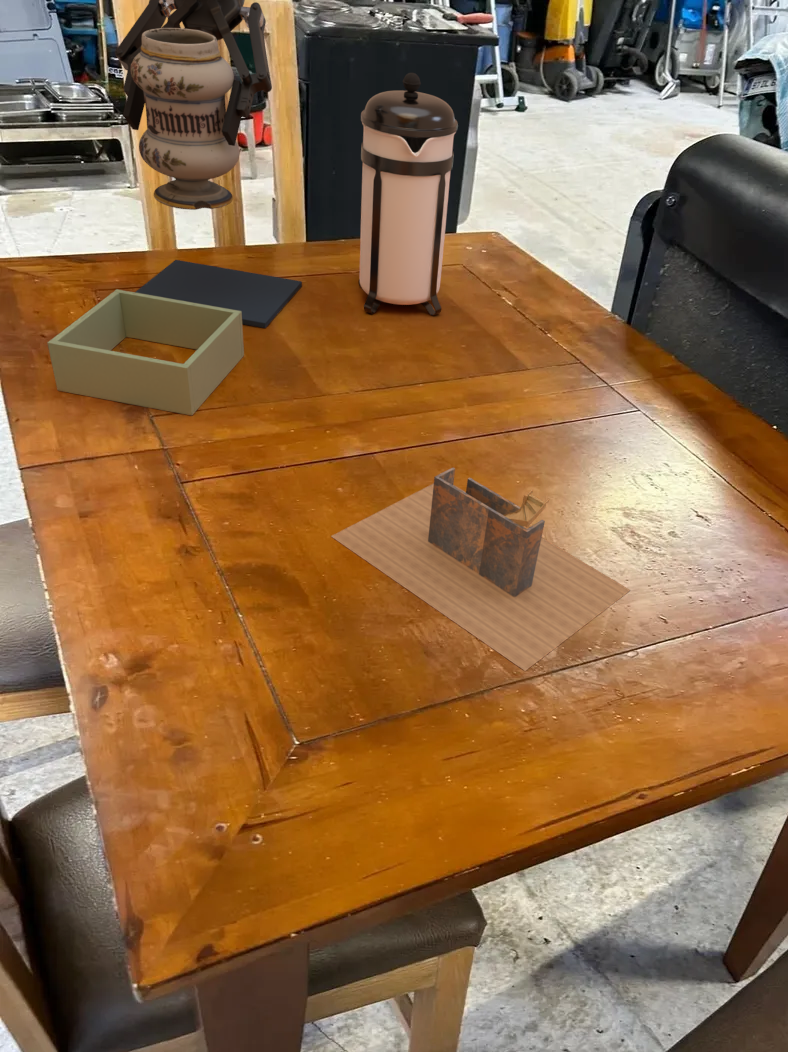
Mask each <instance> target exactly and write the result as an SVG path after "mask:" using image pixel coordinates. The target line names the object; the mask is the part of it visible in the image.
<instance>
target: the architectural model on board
mask: <svg viewBox="0 0 788 1052" xmlns="http://www.w3.org/2000/svg"><path fill="white" fill-rule="evenodd" d="M455 474H456V468H455V467H450V468H449V469H447V470H445V471H443V472H441V473H439V474H437V475H436V476H435V475H434V478H433V483H432V484H429V485H428V486H426V487H424V488H422V489H420V490H418V491H415V492H414V493H412V494H410V495H408V496H406V497H404V498H402V499H401V500H399V501H396V502H395V503H393V504H390V505H389V506H386V507H384V508H383V509H381V510H379V511H377V512H375V513H373V514H371V515H369V516H368V517H366V518H363V519H362V520H360V521H358V522H356V523H354V524H352V525H350V526H348V527H345V528H344V529H342V530H340V531H338V532H337V533H334V534H332V535H331V536H330V537H331V538H333V539H334V540H336V541H337V542H338V543H340V544H341V545H343V546H344V547H346V548H347V549H348V550H350V551H351V552H352V553H354V554H356V555H357V556H359V557H360V558H361V559H363V560H364V561H365V562H367V563H369V564H370V565H371V566H373V567H375V569H377V570H379V571H380V572H382V573H383V574H384V575H386V576H388V578H390V579H392V580H393V581H394V582H396V583H397V584H398V585H400V586H402V587H403V588H405V589H407V591H409V592H410V593H411V594H413V595H415V596H416V597H418V598H419V599H420V600H422V601H424V602H425V603H426V604H428V605H429V606H430V607H432V608H433V609H435V610H436V611H438V612H439V613H440V614H441V615H444V616H445V617H446V618H448V619H449V620H451V621H452V622H454V623H455V624H456V625H458V626H460V627H461V628H462V629H463V630H465V631H467V632H468V633H470V634H471V635H472V636H474V637H475V638H477V639H478V640H480V641H481V642H482V643H484V644H485V645H487V646H488V647H489V648H491V649H493V650H494V651H495V652H497V653H498V654H500V655H501V656H503V657H504V658H506V659H507V660H508V661H510V662H511V663H513V664H514V665H515V666H517V667H518V668H520V669H521V670H523V671H524V672H526V671H527V670H529V669H530V668H531V667H532V666H534V665H536V664H537V663H538V662H540V660H542V659H543V658H545V656H547V655H548V654H550V653H551V652H552V651H554V650H555V649H556V648H558V646H560V645H561V644H563V643H564V642H565V641H566V640H567V639H569V638H571V637H572V636H573V635H574V634H576V633H577V632H578V631H579V630H581V629H582V628H583V627H585V626H586V625H587V624H588V623H590V622H591V621H593V620H594V619H595V618H597V617H598V616H599V615H600V614H602V613H603V612H605V610H607V609H608V608H609V607H611V606H612V605H613V604H615V603H616V602H617V601H618V600H620V599H621V598H622V597H624V596H625V595H626V594H627V593H629V592H630V591H631V589H629V588H628V587H626V586H625V585H623V584H621V583H619V582H618V581H616V580H615V579H613V578H611V577H610V576H608V575H606V574H605V573H602V572H601V571H599V570H598V569H596V568H594V567H593V566H590V565H589V564H587V563H586V562H584V561H582V560H581V559H579V558H578V557H576V556H574V555H572V554H571V553H569V552H567V551H566V550H564V549H562V548H560V547H559V546H557V545H556V544H554V543H552V542H550V541H549V540H547V539H546V538H544V537H543V533H544V527H545V523H546V521H545V520H544V519H540V520H539V521H537V522H536V523H535V524H533V525H532V523H533V522H534V521H535V520H536V519H537V518H538V517H539V516H540V515H541V514H542V512H543V511H544V510H545V509H546V508H547V507H546V506H547V504H548V503H549V502H550V498H548V499H547V500H546V501H544V500H542V499H540V498H538V497H537V496H535V495H533V491H534V490H533V489H530V490H529V492H528V493H527V494H526V495H525V494H523V497H522V502H521V506H519V505H518V504H516V503H515V502H512V501H511V500H509V499H507V498H506V497H504V496H502V495H500V494H499V493H497V492H495V491H494V490H492V489H490V488H488V487H487V486H485V485H483V484H481V483H480V482H478V481H477V480H474V479H473V478H472V477H468V478H467V482H466V487H465V488H466V489H465V490H464V489H462V488H460V487H458V486H457V485H455V483H454V482H455ZM530 525H531V526H530Z"/></svg>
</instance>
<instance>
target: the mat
mask: <svg viewBox="0 0 788 1052" xmlns="http://www.w3.org/2000/svg"><path fill="white" fill-rule="evenodd" d="M302 287H303V281H302V280H295V279H291V278H285V277H280V276H279V277H278V276H273V275H267V274H260V273H256V272H250V271H243V270H239V269H232V268H226V267H222V266H216V265H215V266H214V265H209V264H203V263H197V262H192V261H186V260H179V259H175V260H173V261H172V262H171V263H169V264H168V265H167V266H165V268H163V269H162V270H160V271H159V272H158V273H157V274H156V275H154V276H153V277H152V278H150V280H147V282H146V283H144V284H143V285H142V286H141V287H140V288H138V289H137V290H135V291H134V292H135V293H141V294H146V295H152V296H158V297H163V298H169V299H175V300H180V301H186V302H192V303H197V304H203V305H209V306H215V307H220V308H226V309H232V310H237V311H241V312H242V325H244V326H250V327H255V328H262V329H266V328H267V327H268V326H269V325H270V324H271V322H272V321H273V320H274V319H275V318H276V317H277V316H278V314H280V313H281V311H283V309H284V307H286V305H288V303H289V302H290V301H291V300H292V299H293V297H294V296H295V295H296V294H297V293H298V292H299V290H300V289H301V288H302Z"/></svg>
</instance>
